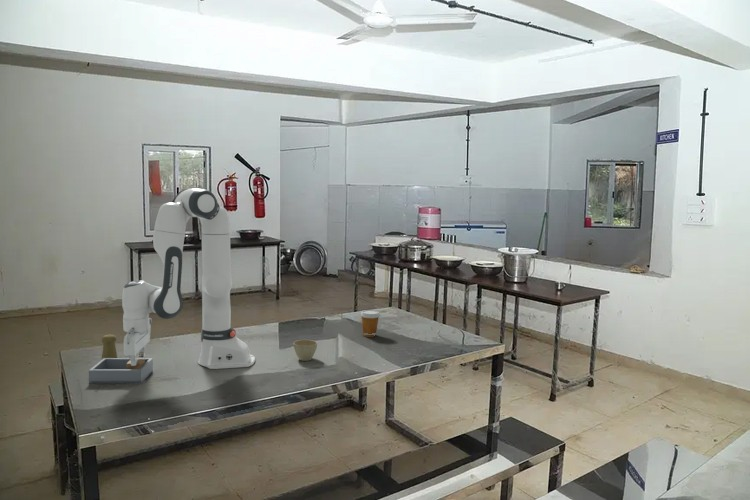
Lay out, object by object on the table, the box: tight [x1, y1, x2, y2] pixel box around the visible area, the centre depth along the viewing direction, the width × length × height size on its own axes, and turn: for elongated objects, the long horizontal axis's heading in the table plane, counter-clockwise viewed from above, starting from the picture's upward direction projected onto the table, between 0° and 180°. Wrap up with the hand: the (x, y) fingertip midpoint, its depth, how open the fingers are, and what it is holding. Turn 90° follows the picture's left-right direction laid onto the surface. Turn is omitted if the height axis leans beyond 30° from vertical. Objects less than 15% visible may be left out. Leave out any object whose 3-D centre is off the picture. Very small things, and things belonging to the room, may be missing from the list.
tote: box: [88, 357, 154, 385], centre depth 204 cm, size 18×14×5 cm
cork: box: [101, 334, 118, 360], centre depth 220 cm, size 6×6×11 cm
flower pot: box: [293, 339, 318, 362], centre depth 233 cm, size 10×10×7 cm
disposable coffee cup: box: [360, 309, 381, 338], centre depth 273 cm, size 10×10×12 cm
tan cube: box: [126, 359, 145, 369], centre depth 205 cm, size 5×5×5 cm
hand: (138, 360), depth 205 cm, fingers open, 8 cm apart
